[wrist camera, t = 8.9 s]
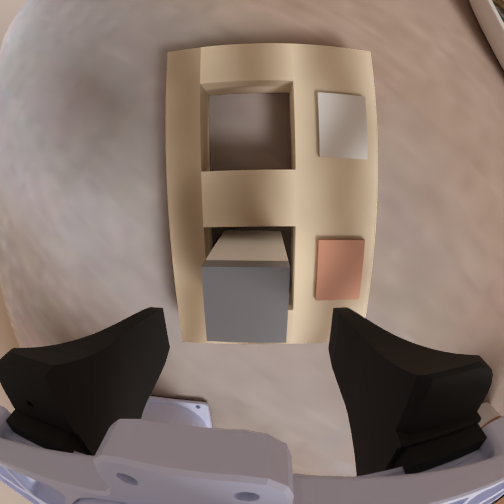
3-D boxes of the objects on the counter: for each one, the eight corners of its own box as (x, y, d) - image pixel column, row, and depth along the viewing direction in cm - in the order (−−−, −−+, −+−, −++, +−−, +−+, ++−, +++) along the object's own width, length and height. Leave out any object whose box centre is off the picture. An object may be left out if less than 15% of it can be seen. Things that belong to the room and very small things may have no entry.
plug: (225, 282, 22) (206, 340, 14) (224, 230, 21) (201, 266, 13) (279, 283, 22) (286, 342, 14) (280, 230, 21) (290, 267, 13)
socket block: (191, 322, 23) (181, 343, 20) (179, 66, 18) (166, 50, 14) (351, 320, 22) (362, 342, 19) (357, 65, 17) (371, 50, 14)
